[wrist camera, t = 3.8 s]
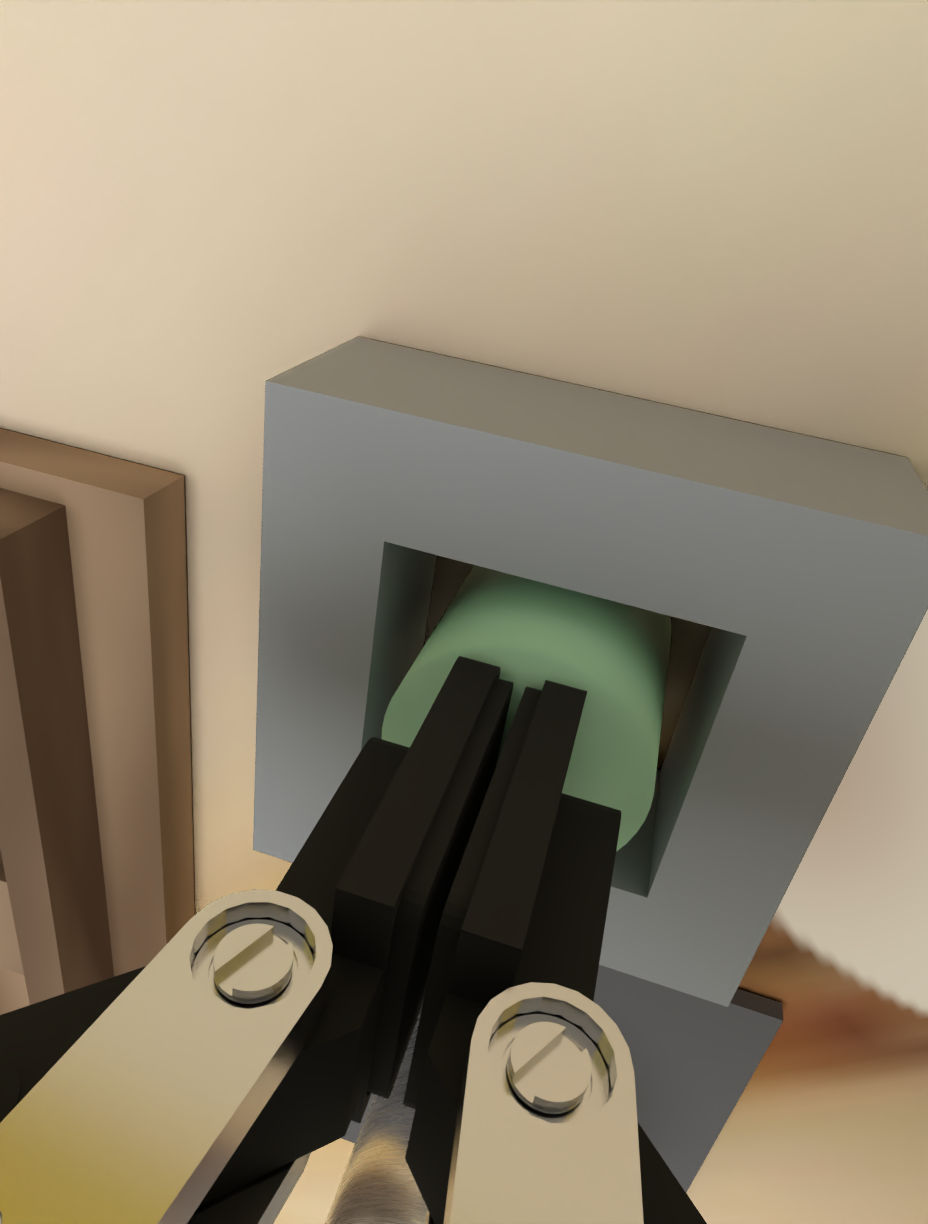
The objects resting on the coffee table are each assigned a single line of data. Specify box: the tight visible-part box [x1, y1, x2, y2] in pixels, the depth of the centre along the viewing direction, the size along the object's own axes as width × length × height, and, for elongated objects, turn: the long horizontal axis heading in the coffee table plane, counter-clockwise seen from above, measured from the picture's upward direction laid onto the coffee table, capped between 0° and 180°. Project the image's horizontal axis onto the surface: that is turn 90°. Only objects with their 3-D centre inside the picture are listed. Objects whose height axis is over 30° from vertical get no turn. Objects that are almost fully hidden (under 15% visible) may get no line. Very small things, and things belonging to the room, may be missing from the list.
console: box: [253, 337, 928, 1007], centre depth 13 cm, size 8×8×3 cm
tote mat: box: [341, 965, 783, 1192], centre depth 20 cm, size 10×10×1 cm
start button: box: [381, 565, 672, 851], centre depth 12 cm, size 4×4×4 cm
